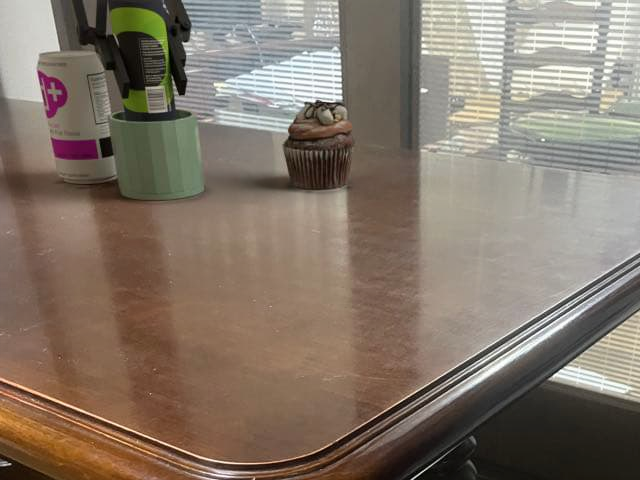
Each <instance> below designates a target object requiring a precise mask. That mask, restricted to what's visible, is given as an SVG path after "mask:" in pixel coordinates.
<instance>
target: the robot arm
mask: <svg viewBox="0 0 640 480" xmlns="http://www.w3.org/2000/svg"><path fill="white" fill-rule="evenodd" d="M67 2H68V4H69V5H68V6H69V9H70V10H69V11H70V14H71V17H72V22H73V26H74V27H73V28H74V31H75V35H76V38H77V39H76V40H77V42H78V44H79V45H80V46H83V47H84V46H85V47H86V46H88V45H91V46H93V47H94V52H95V53H96V55H98V56H99V60H100V62H101V64H102V65H103V67H104V71H106V72H107V71H112V73H113V75H114V78H115V81H116V85H117V87H118V88H117V89H118V91H119V93H120V97H121V99H122V100H123V99H129V88H130V81H129V78H128V75H127V72H126V69H125V66H124V63H123V60H122V57H121V54H120V51H119V49H118V46H117V43H116V40H115V37H114V34H113V33H112V34H111V33H110V34H109V33H107V25H108V24H107V23H108V21H107V20H108V0H96V8H95V27H93V26H90V25H89V21H88V16H87V11H86V9H85V5H84V0H67ZM163 5H164V6H165V7H164V6H163V8H164V16H165V24H166V33H167V41H168V49H169V57H170V66H171V74H172V81H173V82H174V83H173V84H174V85H175V89H176V92H177V94H178V96H179V97H181V96H186V91H187V86H188V77H187V73H186V71H185V67H186V63H187V56H188V55H187V52H186V50H185V47H184V44H183V43H189V42H190V38H191V33H192V27H193V24H192V21H191V19H190V17H189V15H188V12H187V9H186V7H185V5H184V3H183V1H182V0H163Z"/></svg>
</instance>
